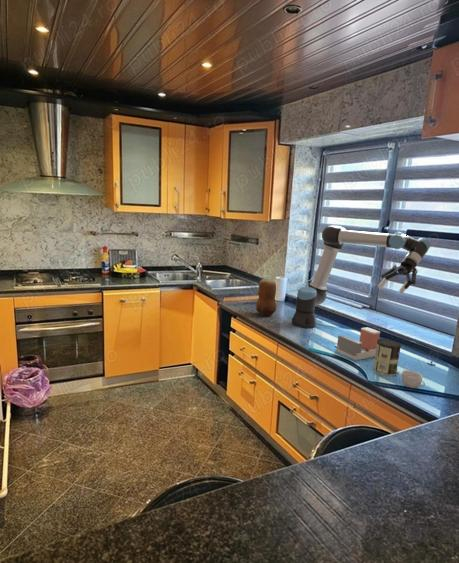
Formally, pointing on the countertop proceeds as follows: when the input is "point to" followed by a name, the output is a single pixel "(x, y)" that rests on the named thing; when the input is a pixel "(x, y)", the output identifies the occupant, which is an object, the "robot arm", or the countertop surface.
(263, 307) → the brown curvy cylinder
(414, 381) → the teacup
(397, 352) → the coffee can
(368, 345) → the orange rectangular block
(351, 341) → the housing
